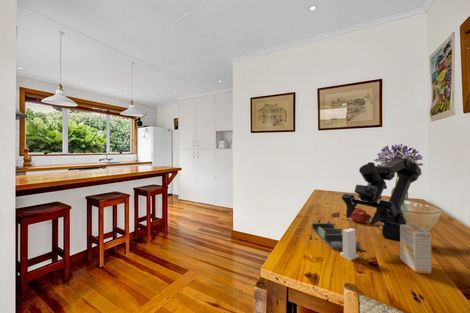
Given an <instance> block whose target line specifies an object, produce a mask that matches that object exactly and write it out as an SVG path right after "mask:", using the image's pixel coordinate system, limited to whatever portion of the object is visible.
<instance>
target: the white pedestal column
mask: <svg viewBox="0 0 470 313" xmlns="http://www.w3.org/2000/svg"><path fill="white" fill-rule="evenodd" d="M342 234H343V249H342V252H340V253H339V255H340V257H342V258H344V259H347V260H348V261H352V260H355V259H357V258H359V253H357V249H356V242H357V241H356V240H357V236H356V235H357V229H355V228H352V227H349V228H346V229H343V230H342Z"/></svg>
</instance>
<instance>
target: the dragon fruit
mask: <svg viewBox="0 0 470 313" xmlns="http://www.w3.org/2000/svg"><path fill="white" fill-rule="evenodd" d="M355 208H356V209H355V210H354V212H353V213H352V214H351V216H350V217H349V218H350V219H353V221H354V222H358V223H360V224H365V222H371V221H370V220H372V218H373V217H372V216H371V214H369V213H367V212H368V211H366V210H364V209H361V208H360V207H355Z"/></svg>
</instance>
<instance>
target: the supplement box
mask: <svg viewBox="0 0 470 313" xmlns="http://www.w3.org/2000/svg"><path fill="white" fill-rule="evenodd" d="M399 246H400V247H399V249H400V250H399V251H400V252H399V256H400V257H399V260H400V261H401V262H402V263H404V264H405V265H406V266H407V267H408V268H410V270H412V271H414V273H416V274H428V275H432V233H430V232H429V231H427V230H425V229H422V228H421V227H418V226H416V225H414V224H406V225H400V241H399Z"/></svg>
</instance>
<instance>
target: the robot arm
mask: <svg viewBox="0 0 470 313" xmlns="http://www.w3.org/2000/svg"><path fill="white" fill-rule="evenodd" d="M358 171H359V173H360V175H361V176H362V178H363V180H364V181H365V182H366V183H367V185H363V184H356V185H355V188H354V193H356V194H357V197H358V198H356V197H355V196H354V195H353V194H350V193H343V194H342V196H341V200H342V201H343V202H344V204H345V205H346V214H345V215H346V218H347V219H349V218H350V216H351V214H352V213H353V212H354V210H355V209H356V208H357V205H361V206H366V207H370V208H373V209H375V210H376V211H375V212H374V215H373V216H372V217H371V218H372V219H370V220H371V221H370V225H371V226H374V225H375V224H377V223H378V222H379V223H383V224H382V225H381V226H382V230H381V231H382V236H383V238H384V239H387V240H393V241H397V242H400V225H407V222H408V221H407V219H406V218H405V215H404V212H403V210H402V207H403V204H404V201H405V198H406V196H407V194H408V191H409V188H410V186H411V184H412V183H414V182H415V181H417V180H418V179H419V177H420V176H421V174H422V169H421V167H420V166H419V165H418V164H417V163H415V162H413V161H411V160H410V159H409V158H406V157H405V158H404V157H402V158H398V157H397V158H395V159H394V160H392V161H390V162H388V163H387V164H384V165H375V163H374V162H373V161H371V162H368V163H367V164H363V165H362V166H361V167H359V170H358ZM395 175H397V176H398V180H397V181H396V184H395V187H394V189H393V191H392V192H391V196H390V198H389V200H384V199H382V198H383V197H382V193H383V191H384V190H387V189H388V187H387V183H386V181H391V180H393V179H394V178H395Z"/></svg>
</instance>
